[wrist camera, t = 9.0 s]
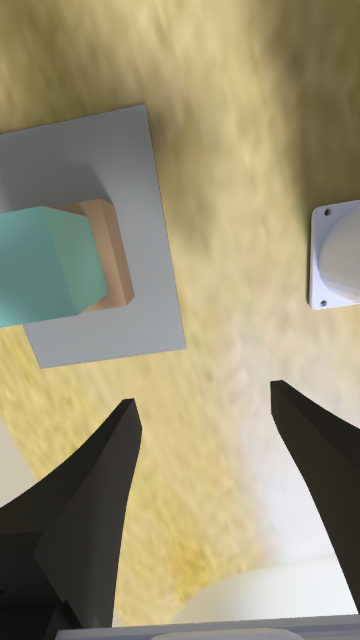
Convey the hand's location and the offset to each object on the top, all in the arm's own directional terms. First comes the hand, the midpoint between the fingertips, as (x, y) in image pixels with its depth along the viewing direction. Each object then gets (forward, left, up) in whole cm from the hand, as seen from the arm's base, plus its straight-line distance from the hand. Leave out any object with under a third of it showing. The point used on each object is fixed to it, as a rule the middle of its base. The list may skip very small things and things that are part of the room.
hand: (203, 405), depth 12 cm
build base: (+8, -8, -9) cm, 15 cm away
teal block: (+8, -8, -6) cm, 13 cm away
